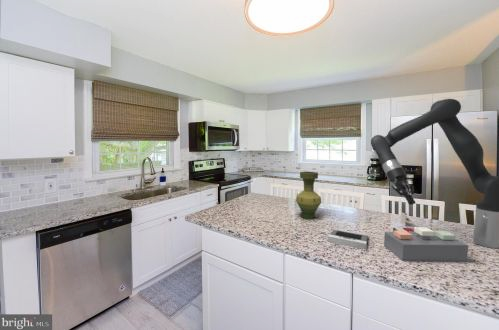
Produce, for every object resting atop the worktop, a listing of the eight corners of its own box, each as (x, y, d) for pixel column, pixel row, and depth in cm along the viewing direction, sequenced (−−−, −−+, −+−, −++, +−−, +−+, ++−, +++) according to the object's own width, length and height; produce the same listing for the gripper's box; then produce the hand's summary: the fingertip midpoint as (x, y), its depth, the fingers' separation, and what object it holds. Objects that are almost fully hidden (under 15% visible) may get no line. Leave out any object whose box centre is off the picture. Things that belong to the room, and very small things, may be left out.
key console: (440, 246, 108) (441, 232, 107) (466, 261, 94) (468, 245, 94) (383, 245, 109) (384, 231, 108) (402, 260, 95) (403, 244, 95)
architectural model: (406, 223, 140) (407, 212, 139) (412, 228, 133) (413, 215, 132) (400, 223, 140) (401, 211, 140) (406, 227, 134) (406, 215, 133)
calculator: (437, 236, 111) (404, 234, 113) (436, 244, 112) (404, 242, 113) (422, 228, 122) (393, 226, 124) (421, 236, 123) (392, 233, 124)
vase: (290, 217, 153) (291, 172, 150) (304, 212, 163) (305, 170, 161) (312, 223, 141) (313, 175, 138) (325, 217, 151) (326, 172, 149)
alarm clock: (327, 236, 114) (334, 223, 128) (327, 244, 114) (334, 231, 128) (366, 243, 105) (368, 229, 119) (366, 253, 106) (368, 237, 119)
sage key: (445, 242, 103) (445, 230, 103) (454, 247, 98) (455, 235, 98) (433, 242, 104) (434, 230, 103) (442, 247, 99) (443, 235, 98)
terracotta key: (404, 242, 104) (405, 230, 104) (411, 247, 99) (412, 234, 99) (393, 242, 104) (393, 230, 104) (399, 246, 99) (400, 234, 99)
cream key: (424, 238, 104) (425, 227, 103) (433, 243, 99) (434, 231, 98) (413, 238, 104) (414, 227, 103) (421, 243, 99) (422, 231, 98)
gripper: (391, 165, 105) (410, 200, 96) (409, 167, 111) (429, 200, 102) (378, 173, 111) (395, 207, 102) (396, 175, 116) (414, 207, 107)
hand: (412, 203), depth 102 cm, fingers closed
